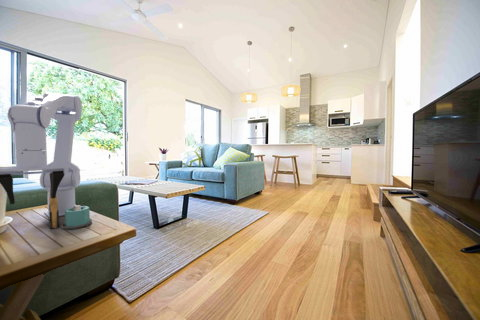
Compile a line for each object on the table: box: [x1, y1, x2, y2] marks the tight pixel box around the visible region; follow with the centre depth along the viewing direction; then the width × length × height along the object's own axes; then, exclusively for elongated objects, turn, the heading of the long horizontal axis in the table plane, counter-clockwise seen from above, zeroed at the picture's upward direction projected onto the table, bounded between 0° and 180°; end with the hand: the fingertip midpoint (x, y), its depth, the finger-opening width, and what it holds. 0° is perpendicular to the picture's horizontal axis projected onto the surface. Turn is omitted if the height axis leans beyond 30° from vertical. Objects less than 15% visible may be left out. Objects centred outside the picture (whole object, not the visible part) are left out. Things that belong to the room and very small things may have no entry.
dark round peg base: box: [61, 204, 93, 231], centre depth 60 cm, size 7×7×6 cm
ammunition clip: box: [48, 188, 60, 230], centre depth 61 cm, size 11×2×12 cm, turn 45°
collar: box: [64, 205, 91, 226], centre depth 60 cm, size 5×5×4 cm
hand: (33, 200), depth 53 cm, fingers open, 7 cm apart
